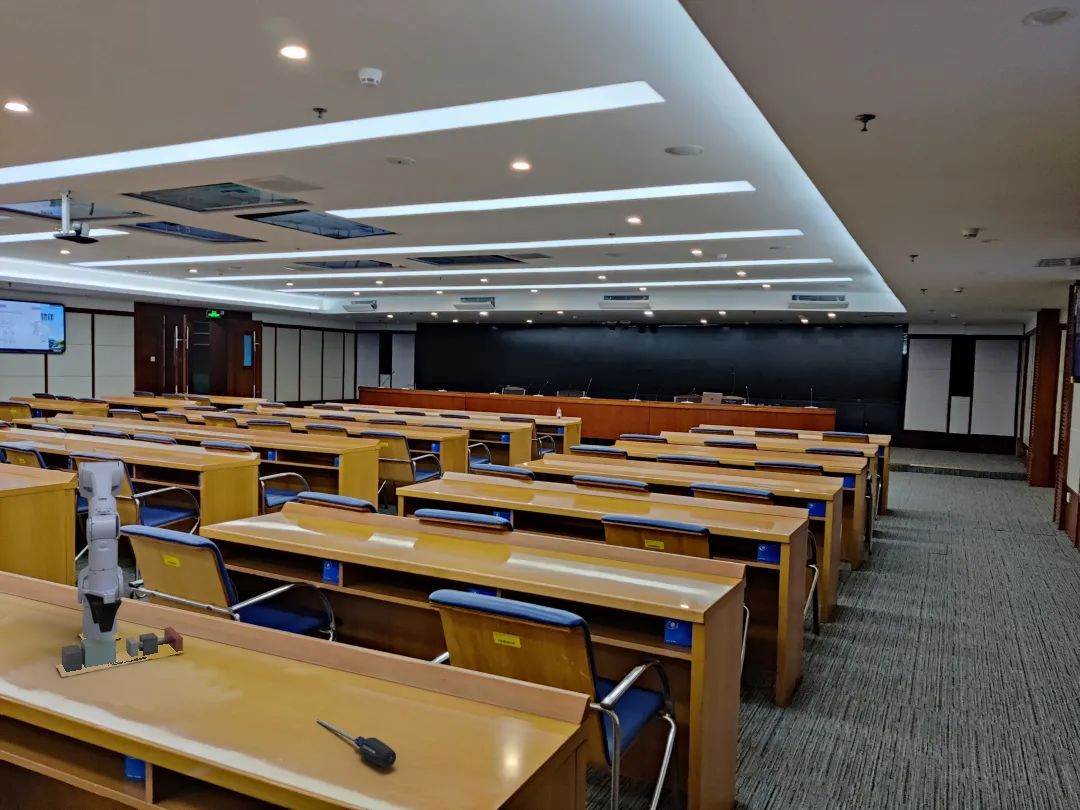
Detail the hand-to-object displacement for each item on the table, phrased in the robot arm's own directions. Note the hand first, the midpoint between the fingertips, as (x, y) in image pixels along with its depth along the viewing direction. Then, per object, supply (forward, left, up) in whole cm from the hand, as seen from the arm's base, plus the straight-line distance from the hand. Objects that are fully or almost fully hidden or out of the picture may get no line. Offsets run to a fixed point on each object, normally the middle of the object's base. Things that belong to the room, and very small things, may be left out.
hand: (102, 627), depth 170 cm
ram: (0, +11, -7) cm, 13 cm away
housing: (0, -1, -8) cm, 8 cm away
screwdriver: (+70, +27, -9) cm, 75 cm away
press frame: (0, +3, -8) cm, 9 cm away
